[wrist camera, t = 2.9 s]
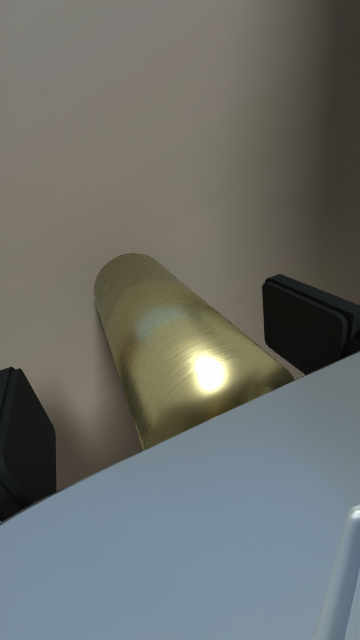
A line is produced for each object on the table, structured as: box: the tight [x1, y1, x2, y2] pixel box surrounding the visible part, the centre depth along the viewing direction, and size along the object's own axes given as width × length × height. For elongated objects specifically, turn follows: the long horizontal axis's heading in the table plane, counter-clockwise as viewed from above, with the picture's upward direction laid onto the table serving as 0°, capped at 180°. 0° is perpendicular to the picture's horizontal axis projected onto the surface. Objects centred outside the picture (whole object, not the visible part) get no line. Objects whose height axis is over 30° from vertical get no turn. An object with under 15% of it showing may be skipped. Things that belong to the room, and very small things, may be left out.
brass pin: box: [94, 253, 295, 450], centre depth 11 cm, size 4×4×10 cm
